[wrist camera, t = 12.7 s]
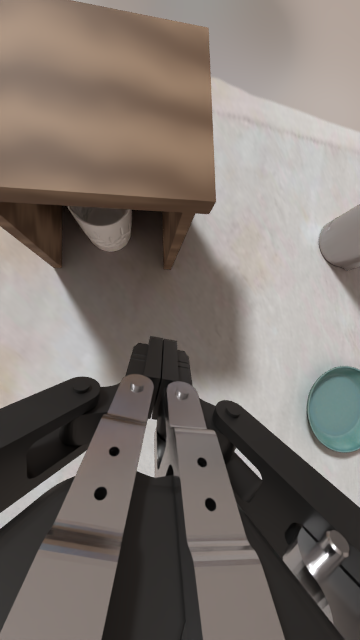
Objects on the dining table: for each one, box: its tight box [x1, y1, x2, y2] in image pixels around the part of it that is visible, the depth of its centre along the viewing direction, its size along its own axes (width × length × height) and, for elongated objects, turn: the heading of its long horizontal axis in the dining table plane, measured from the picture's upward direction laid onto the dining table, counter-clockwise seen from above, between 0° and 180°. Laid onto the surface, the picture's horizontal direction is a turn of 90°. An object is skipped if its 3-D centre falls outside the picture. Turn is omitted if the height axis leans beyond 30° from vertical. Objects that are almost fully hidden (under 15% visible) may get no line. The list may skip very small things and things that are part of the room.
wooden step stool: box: [0, 0, 216, 269], centre depth 28 cm, size 16×21×20 cm
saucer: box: [307, 366, 360, 453], centre depth 41 cm, size 15×15×3 cm
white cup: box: [67, 206, 132, 252], centre depth 33 cm, size 8×8×10 cm
